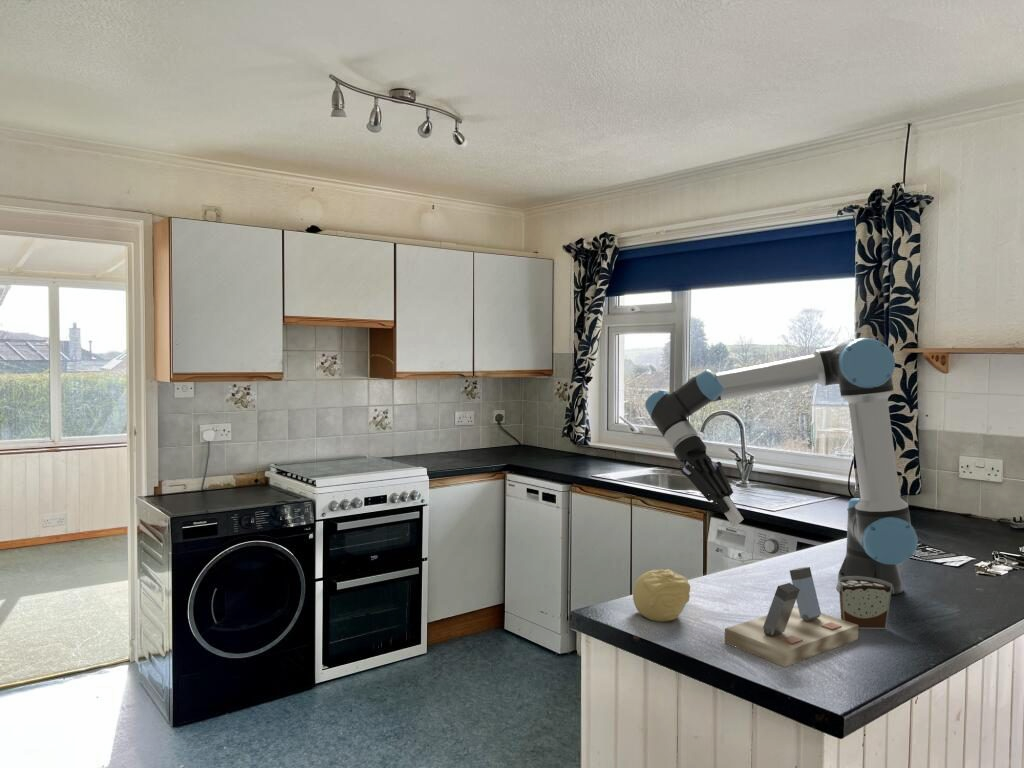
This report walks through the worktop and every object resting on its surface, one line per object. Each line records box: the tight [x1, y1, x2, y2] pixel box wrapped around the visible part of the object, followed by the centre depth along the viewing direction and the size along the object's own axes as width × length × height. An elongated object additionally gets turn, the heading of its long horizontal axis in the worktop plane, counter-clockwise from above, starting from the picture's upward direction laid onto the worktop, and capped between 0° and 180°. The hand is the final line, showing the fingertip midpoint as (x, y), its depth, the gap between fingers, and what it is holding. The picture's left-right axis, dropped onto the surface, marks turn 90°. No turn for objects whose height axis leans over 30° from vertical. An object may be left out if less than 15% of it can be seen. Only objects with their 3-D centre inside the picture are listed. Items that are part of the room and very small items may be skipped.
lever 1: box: [763, 582, 800, 636], centre depth 147 cm, size 4×2×11 cm, turn 126°
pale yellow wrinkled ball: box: [632, 568, 691, 622], centre depth 165 cm, size 11×12×11 cm
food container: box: [835, 576, 894, 630], centre depth 163 cm, size 12×6×10 cm, turn 92°
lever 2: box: [789, 566, 822, 622], centre depth 158 cm, size 4×2×11 cm, turn 126°
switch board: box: [724, 605, 859, 668], centre depth 152 cm, size 26×14×3 cm, turn 126°
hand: (738, 522), depth 171 cm, fingers closed
